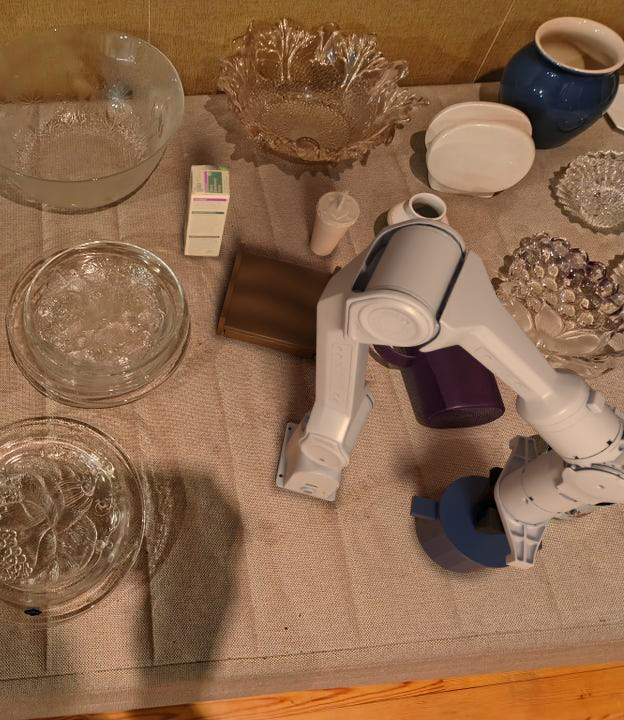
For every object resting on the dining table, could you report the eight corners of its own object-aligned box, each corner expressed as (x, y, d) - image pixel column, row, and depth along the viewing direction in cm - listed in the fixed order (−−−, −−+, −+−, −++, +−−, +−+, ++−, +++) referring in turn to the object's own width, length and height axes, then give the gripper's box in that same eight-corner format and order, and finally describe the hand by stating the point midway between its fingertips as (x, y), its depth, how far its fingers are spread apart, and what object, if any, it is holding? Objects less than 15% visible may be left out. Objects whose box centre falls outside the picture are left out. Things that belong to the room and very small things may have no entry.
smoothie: (298, 256, 106) (322, 197, 94) (305, 226, 109) (329, 165, 97) (337, 267, 106) (366, 209, 93) (344, 236, 108) (373, 176, 96)
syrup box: (219, 257, 106) (233, 195, 93) (182, 256, 106) (191, 194, 93) (218, 228, 108) (231, 165, 95) (182, 227, 108) (190, 163, 95)
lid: (526, 582, 78) (549, 575, 74) (430, 552, 79) (448, 544, 75) (529, 493, 83) (551, 482, 79) (440, 466, 84) (457, 454, 80)
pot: (514, 589, 84) (545, 580, 78) (391, 554, 85) (412, 542, 79) (516, 512, 88) (545, 498, 82) (399, 480, 90) (419, 464, 84)
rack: (318, 361, 98) (328, 345, 93) (215, 334, 99) (220, 317, 95) (332, 285, 104) (341, 266, 100) (235, 261, 106) (240, 242, 101)
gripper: (591, 567, 64) (516, 588, 76) (587, 432, 70) (519, 471, 83) (517, 546, 65) (454, 570, 77) (520, 414, 71) (462, 456, 83)
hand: (484, 518), depth 80 cm, fingers closed on lid, 2 cm apart
